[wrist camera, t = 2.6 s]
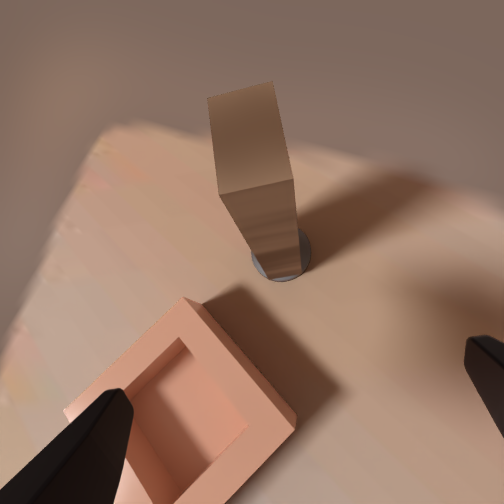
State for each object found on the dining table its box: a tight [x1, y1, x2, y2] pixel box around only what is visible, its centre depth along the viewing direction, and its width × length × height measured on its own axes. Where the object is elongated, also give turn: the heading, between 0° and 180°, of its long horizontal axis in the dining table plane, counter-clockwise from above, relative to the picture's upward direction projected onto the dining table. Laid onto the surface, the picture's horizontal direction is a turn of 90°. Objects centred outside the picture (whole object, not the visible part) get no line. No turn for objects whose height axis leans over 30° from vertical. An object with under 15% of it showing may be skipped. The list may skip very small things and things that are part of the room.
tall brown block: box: [207, 81, 311, 282], centre depth 17 cm, size 4×4×14 cm
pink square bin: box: [63, 297, 297, 504], centre depth 19 cm, size 10×10×4 cm
